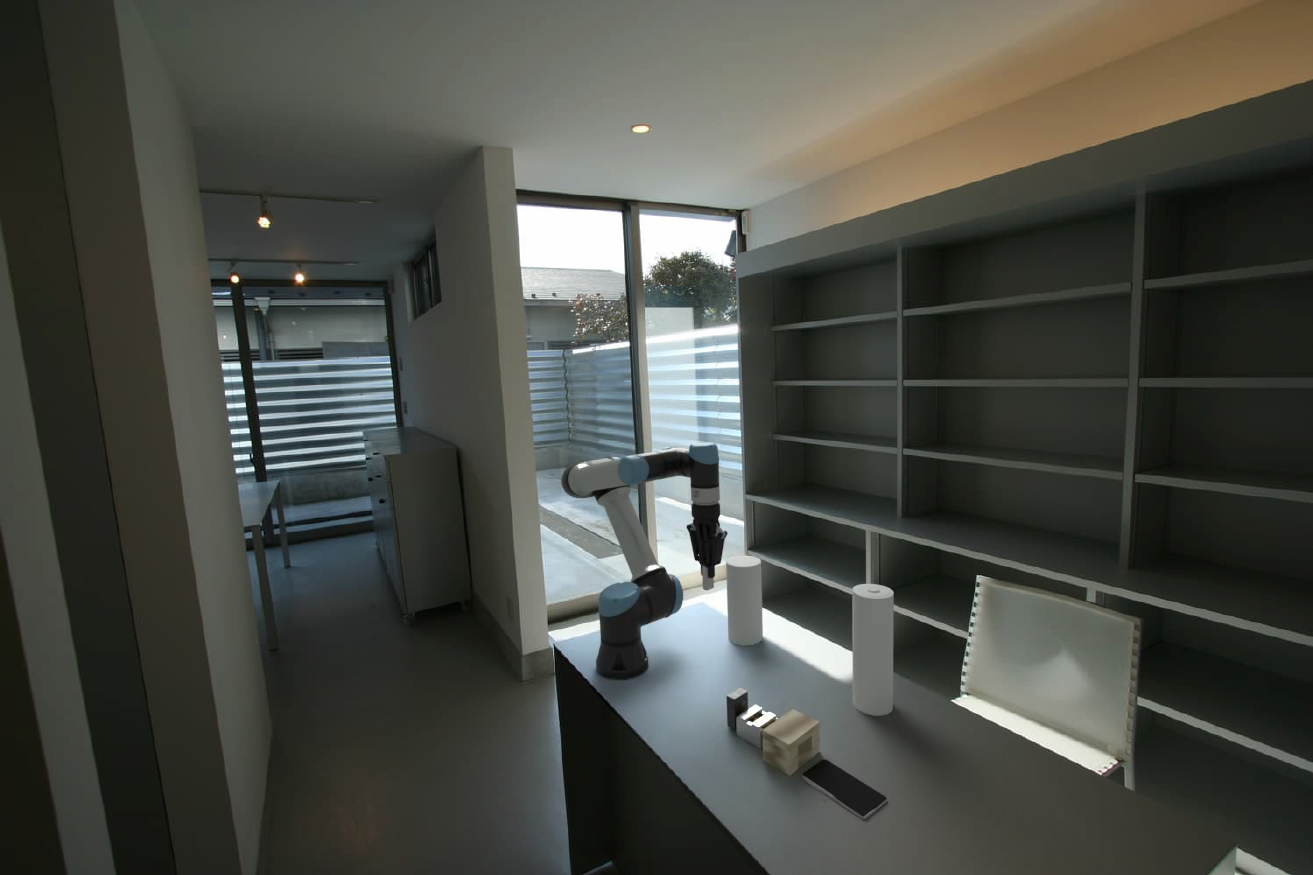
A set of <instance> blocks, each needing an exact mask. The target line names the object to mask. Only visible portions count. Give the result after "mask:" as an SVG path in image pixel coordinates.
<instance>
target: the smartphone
mask: <svg viewBox="0 0 1313 875" xmlns="http://www.w3.org/2000/svg"><path fill="white" fill-rule="evenodd" d="M801 777H802V780H804V781H805V782H806V783H808V785H810V786H812V787H813V788H815V789H817V791H819V792H821V793H823V794H824V795H826V796H828V797H829V798H830V799H832V800H834V802H837V803H838V804H840V805H841V806H842V807H844V808H846V809H847V810H849V811H850V812H851V813H853V814H854V815H856V816H858V817H859V818H860V819H862V820H866V819H868V818H869V817H870V816H871V815H873V814H874V813H875V812H876V811H877V810H878V809H879V808H881V807H882V806H883V805H885V804H886V803H887V802H888V798H887V797H886V796H885V795H884V794H882V793H880V792H879V791H877V790H876V789H874V788H872V787H871V786H869V785H868V784H866V783H865V782H863V781H861V780H859V779H858V778H857V777H855V776H853V775H852V774H850V773H849V772H847V771H846V770H844V769H842V768H841V767H839V766H838V765H836V764H834V763H833V762H831V761H830V760H828V759H825V758H823V759H822V760H820V761H818V762H817V763H815V764H814V765H812V766H811V767H810V768H808V769H807V770H805V771H803V773H801Z"/></svg>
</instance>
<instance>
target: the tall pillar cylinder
mask: <svg viewBox="0 0 1313 875" xmlns="http://www.w3.org/2000/svg"><path fill="white" fill-rule="evenodd" d="M725 569H726V571H725V572H726V575H725V576H726V602H727V603H726V604H727V605H726V606H727V636H728V638H727V639H728V640H729V641H730V642H731V643H732V642H733V643H732V644H734V645H737V646H741V647H742V646H743V647H747V646H748V645H751V646H755V645H754V644H756V643H758V642H760V641H761V640H762V639H764V636H763V635H764V634H763V633H764V631H763V630H764V628H763V627H764V626H763V590H762V588H763V587H762V586H763V584H762V583H763V582H762V580H763V579H762V561H761V559H760V558H759V557H756V556H752V555H744V554H743V555H734V556H730V557H728V558H727V559H726V561H725ZM762 641H763V640H762ZM762 641H761V642H762ZM761 642H760V643H761ZM758 644H759V643H758ZM745 645H746V646H745ZM756 645H757V644H756ZM748 647H749V646H748Z"/></svg>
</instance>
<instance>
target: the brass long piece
mask: <svg viewBox="0 0 1313 875" xmlns="http://www.w3.org/2000/svg"><path fill="white" fill-rule="evenodd" d="M748 692H749V691H748V690H746V689H744V688H741V687H738V688H737V689H735V690H733V691H732V692H730V693H728V694H727V695H726V696H725V697H726V719H727V720H726V721H727V722H726V724H727V727H728V728H729V729H731V730H733V731H737V724H736V717H738V716H739V715H740V714H742V713H743V712H745V711H747V710H748V709H749V693H748ZM757 719H759V718H758V717H756V716H753V717H752V718H750V719H749V720H748V721H750V722H752V723H753V722H754V721H756V720H757ZM769 725H771V724H769V723H768V724H766V725H765V726H763V727H762V728H763V729H765V728H766V727H768V726H769Z"/></svg>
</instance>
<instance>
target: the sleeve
mask: <svg viewBox="0 0 1313 875" xmlns="http://www.w3.org/2000/svg"><path fill="white" fill-rule="evenodd" d="M753 716H756V717H758V718H759V719H757V720H756V721H754V722H753V723H752V722H750V721H748V720H749V719H750V718H752V717H753ZM778 719H779V717H777V715H776V714H775V713H772V712H771V711H768V712H766V711H764V710H763V707H762V706H759V705H757V704H753V706H752V707H751V706H750V707H749V708H748V710H747V711H745V712H743V713H742V714H740V715H739V716H738V717H736V724H737V730H736V737H737V738H740V739H742V740H743V741H745V742H747V743H748V744H750V745H751V746H754V747H755V748H757V749H758V750H760V751H762V750H763V733H762V730H763V728H762V727H763V726H765V725H766V724H768V723H769V724H772V723H773V722H775V721H776V720H778Z"/></svg>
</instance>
